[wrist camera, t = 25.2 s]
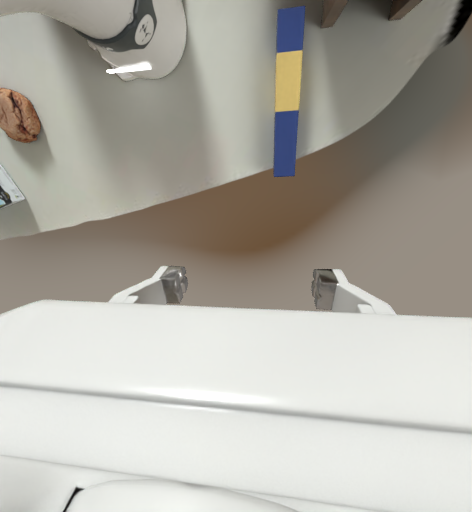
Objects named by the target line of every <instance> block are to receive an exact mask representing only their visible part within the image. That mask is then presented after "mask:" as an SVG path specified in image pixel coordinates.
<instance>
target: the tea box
mask: <svg viewBox="0 0 472 512" xmlns="http://www.w3.org/2000/svg"><path fill="white" fill-rule="evenodd" d="M23 200H25V198H24V196H23V195H22V193H21V192H20V190H19V189H18V187H17V186H16V185H15V183H14V182H13V180H12V179H11V178H10V176H9V175H8V173H7V172H6V171H5V169H4V168H3V166H2V165H1V164H0V209H1V208H4V207H7V206H9V205H12V204H15V203H17V202H20V201H23Z"/></svg>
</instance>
